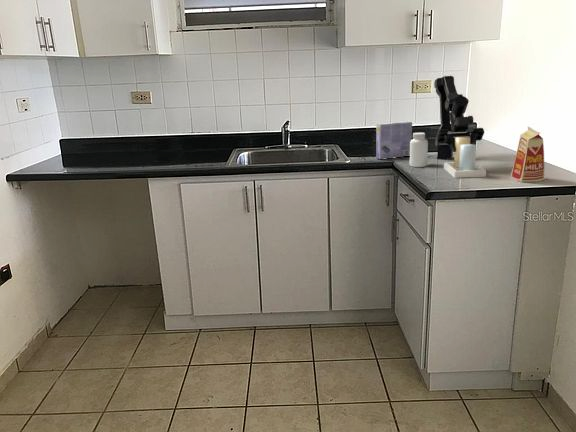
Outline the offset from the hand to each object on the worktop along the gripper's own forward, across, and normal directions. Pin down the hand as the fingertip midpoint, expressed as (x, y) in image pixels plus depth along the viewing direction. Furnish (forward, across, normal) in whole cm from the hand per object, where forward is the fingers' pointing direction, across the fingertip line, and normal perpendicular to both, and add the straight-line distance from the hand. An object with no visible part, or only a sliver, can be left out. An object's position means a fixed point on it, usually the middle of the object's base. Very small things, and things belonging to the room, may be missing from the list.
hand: (462, 150), depth 207 cm
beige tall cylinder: (+4, 0, +6) cm, 7 cm away
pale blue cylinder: (+11, 0, 0) cm, 11 cm away
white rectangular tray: (+9, 0, +4) cm, 10 cm away
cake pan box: (-23, -23, +36) cm, 49 cm away
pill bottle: (-6, -15, +19) cm, 25 cm away
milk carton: (+20, +20, -7) cm, 29 cm away
